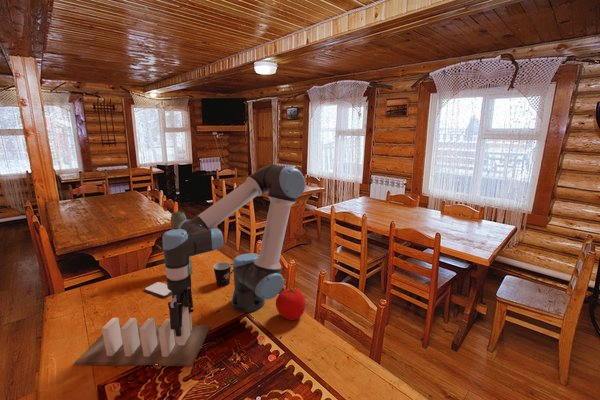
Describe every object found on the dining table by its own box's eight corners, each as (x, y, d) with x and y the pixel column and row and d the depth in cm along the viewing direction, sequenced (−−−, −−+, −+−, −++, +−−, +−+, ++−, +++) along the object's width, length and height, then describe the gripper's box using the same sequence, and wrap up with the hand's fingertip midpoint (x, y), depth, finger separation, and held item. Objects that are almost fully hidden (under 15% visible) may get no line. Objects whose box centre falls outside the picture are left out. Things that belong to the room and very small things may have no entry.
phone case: (143, 291, 149) (164, 299, 142) (142, 288, 149) (164, 296, 141) (158, 283, 157) (180, 290, 149) (158, 281, 156) (179, 287, 149)
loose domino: (190, 333, 109) (188, 306, 106) (184, 345, 103) (181, 316, 100) (185, 333, 109) (182, 306, 106) (178, 345, 103) (175, 316, 101)
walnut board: (210, 327, 121) (210, 325, 121) (191, 366, 102) (191, 363, 101) (112, 326, 122) (112, 324, 122) (75, 364, 102) (75, 362, 102)
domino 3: (157, 344, 110) (154, 318, 108) (149, 356, 105) (145, 329, 102) (152, 344, 110) (148, 318, 108) (143, 356, 105) (139, 328, 102)
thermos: (186, 279, 160) (180, 216, 152) (170, 274, 165) (163, 213, 157) (198, 271, 168) (192, 211, 160) (182, 268, 173) (176, 209, 164)
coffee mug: (216, 289, 150) (214, 270, 148) (213, 281, 158) (212, 263, 155) (239, 284, 154) (238, 266, 152) (235, 276, 162) (234, 259, 160)
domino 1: (122, 343, 111) (118, 317, 108) (112, 356, 105) (107, 328, 102) (117, 343, 111) (112, 317, 108) (106, 355, 105) (101, 328, 102)
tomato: (307, 310, 132) (307, 284, 129) (301, 327, 121) (301, 299, 118) (280, 307, 135) (280, 281, 132) (272, 323, 124) (271, 295, 121)
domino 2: (140, 344, 111) (136, 317, 108) (130, 356, 105) (126, 328, 102) (134, 344, 111) (130, 317, 108) (125, 356, 105) (120, 328, 102)
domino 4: (175, 344, 110) (171, 318, 108) (167, 356, 104) (164, 329, 102) (169, 344, 110) (166, 318, 108) (162, 356, 105) (158, 329, 102)
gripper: (179, 263, 110) (184, 319, 115) (153, 290, 91) (161, 355, 97) (199, 263, 109) (204, 319, 115) (177, 290, 91) (184, 355, 96)
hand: (184, 335), depth 106 cm, fingers closed on loose domino, 6 cm apart
